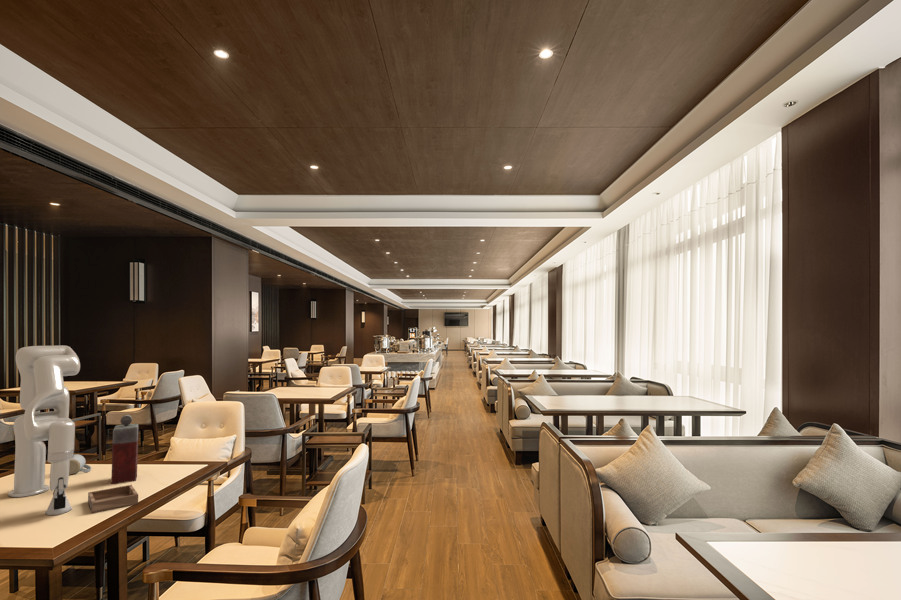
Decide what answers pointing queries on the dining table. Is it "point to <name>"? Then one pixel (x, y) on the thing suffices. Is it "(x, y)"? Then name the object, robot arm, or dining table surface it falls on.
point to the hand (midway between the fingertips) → (58, 505)
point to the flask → (51, 510)
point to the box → (112, 498)
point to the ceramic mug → (78, 465)
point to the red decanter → (124, 451)
